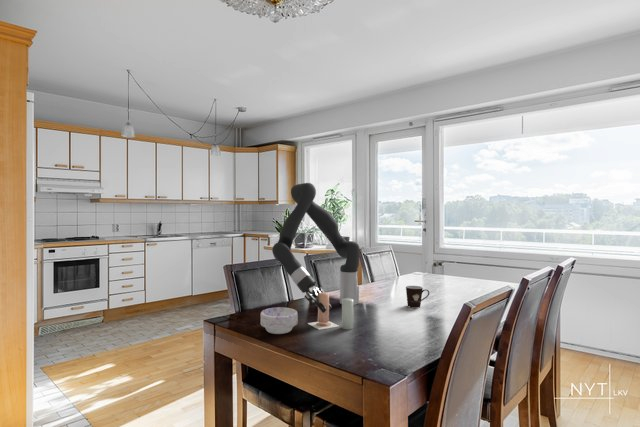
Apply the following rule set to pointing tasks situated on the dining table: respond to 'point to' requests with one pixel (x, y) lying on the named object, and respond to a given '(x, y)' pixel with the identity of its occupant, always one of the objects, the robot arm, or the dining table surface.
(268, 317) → the paper bowls
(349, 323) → the grey-green tube
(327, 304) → the terracotta tube
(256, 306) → the dining table surface
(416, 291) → the coffee mug
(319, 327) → the card
